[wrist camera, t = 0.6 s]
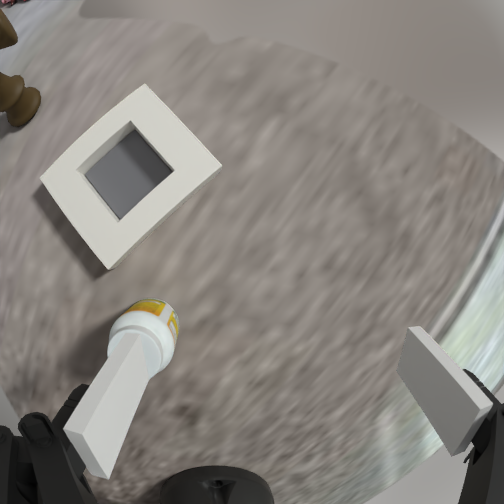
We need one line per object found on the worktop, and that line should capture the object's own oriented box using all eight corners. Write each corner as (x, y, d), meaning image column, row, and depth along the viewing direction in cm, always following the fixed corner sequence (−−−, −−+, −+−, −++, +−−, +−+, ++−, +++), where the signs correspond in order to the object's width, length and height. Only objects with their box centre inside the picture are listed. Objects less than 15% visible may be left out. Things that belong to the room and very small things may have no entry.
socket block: (115, 267, 27) (108, 269, 25) (50, 182, 26) (39, 177, 23) (220, 172, 29) (222, 165, 26) (148, 94, 27) (144, 83, 25)
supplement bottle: (190, 323, 29) (187, 358, 19) (155, 358, 28) (140, 403, 19) (151, 285, 28) (129, 304, 19) (116, 321, 27) (84, 353, 18)
